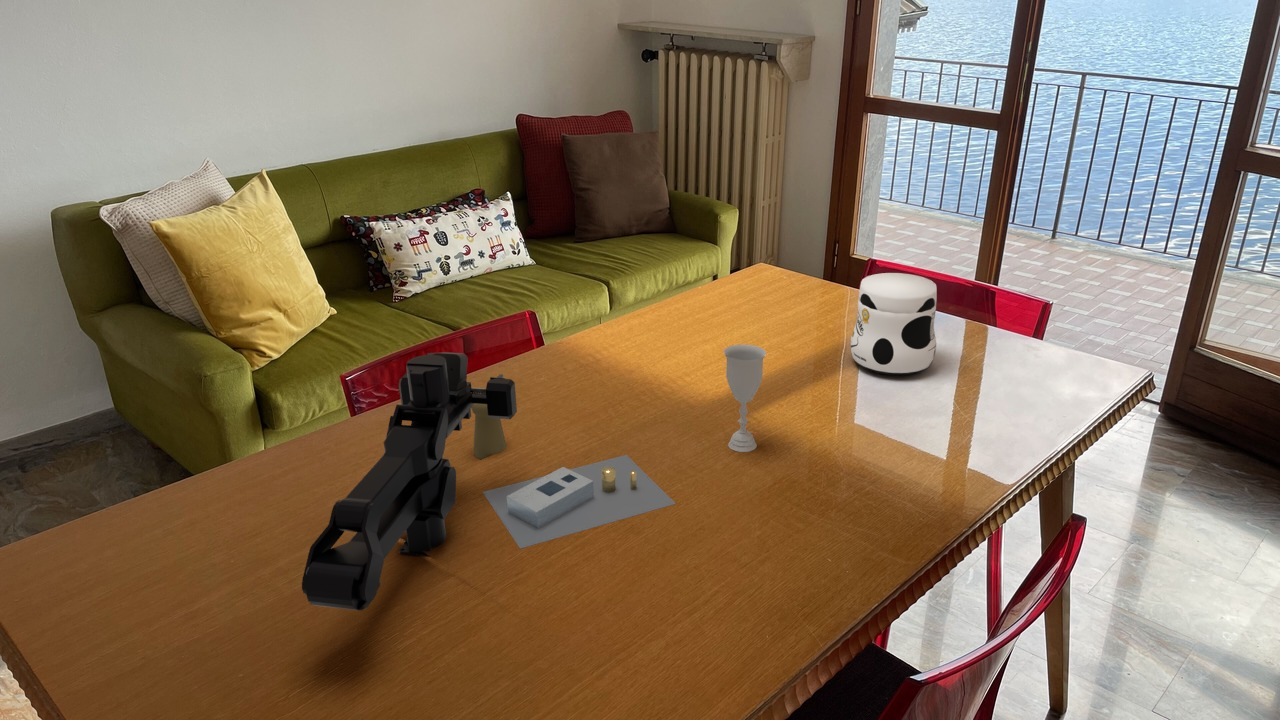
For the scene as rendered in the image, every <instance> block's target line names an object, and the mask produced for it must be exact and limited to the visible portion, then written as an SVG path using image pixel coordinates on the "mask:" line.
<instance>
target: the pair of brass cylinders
mask: <svg viewBox="0 0 1280 720" xmlns="http://www.w3.org/2000/svg"><path fill="white" fill-rule="evenodd" d="M601 472H602V490H603V492H606V493H611V492H614V491H615V490H616V482H615V468H613V467H604V468H602V470H601ZM630 488H631V490H635V489H637V483H636V471H630Z"/></svg>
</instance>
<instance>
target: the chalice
mask: <svg viewBox="0 0 1280 720" xmlns="http://www.w3.org/2000/svg"><path fill="white" fill-rule="evenodd" d="M723 352H724V353H723V354H724V356H725V358H726V366H725V367H726V370H725V371H726V372H725V373H726V374H725V375H726V380H727V383H728V386H729V389H730V391H731V393H732V395H733V397H734V398H735V400H736V401H737V402H739V403H740V408H739V410H738V412H739V414H740V417H739V419H738V420H737V422H738V423H739V429H738V430H737V431H735V432H734V433H733V434H732V435H731V438H730V441H729V442H728V443H727V445H728V448H729V449H730V450H733V451H736V452H740V453H747V452H748V453H749V452H753V451H755V449H756V448H757V446H758V444H757V443H756V441H755V438H754V435H753V434H752V433H751V431H749V430H747V429H746V428H747V424H748V422H749V420H748V419H747V414H748V413H749V411H748V409H747V403H750V402H751V401H753V399H754V397H755V396H756V394H757V391H758V390H759V388H760V386H761V384H762V380H763V372H764V371H763V369H764V365H763V364H764V358H765V356H766V355H767V352H766V349H764V348H761V347H760V346H756V345H752V344H733V345H730V346H727V347H726V348H724V350H723Z"/></svg>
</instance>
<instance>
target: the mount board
mask: <svg viewBox="0 0 1280 720" xmlns="http://www.w3.org/2000/svg"><path fill="white" fill-rule="evenodd" d="M604 467H613V468H615V482H616V490H615V491H614V492H611V493H606V492H603V490H602V472H601V470H602V468H604ZM568 469H569V468H568ZM569 470H571V471H573V472H575V473H577V474H580V475H582V476H584V477H586V478H588V479H590V480H592V481H593V486H594V498H592V499H590V500H588V501H587V502H585V503H583V504H581V505H579V506H578V507H576V508H574V509H572V510H571V511H569V512H567V513H565V514H564V515H562V516H560V517H558V518H557V519H555V520H553V521H551V522H549V523H548V524H546V525H544V526H542V527H541V528H539V529H537V528H535V527H533V526H532V525H530V524H528V523H526V522H524V521H522V520H521V519H519V518H517V517H515V516H513V515H512V514H510V513H508V506H507V496H508V495H510V494H512V493H514V492H515V491H517V490H519V489H521V488H523V487H525V486H527V485H529V484H531V483H533V482H535V481H537V480H539V479H540V478H542V477H544V476H545V475H543V476H540V477H535V478H531V479H528V480H524V481H520V482H516V483H512V484H509V485H504V486H501V487H498V488H497V487H496V488H493V489H489V490H486V491H482V494H483V495H484V497H485V498H486V500H487V501H488V503H489V504H490V506H491V507H492V509H493V511H494V512H495V513H496V514H497V516H498V518H499V519H500V521H501V522H502V524H503V526H504V527H505V528H506V530H507V531H508V533H509V535H511V538H512V539H513V540H514V542H515V543H516V545H517V546H518V547H519V550H521V549H525V548H529V547H531V546H535V545H539V544H542V543H546V542H549V541H552V540H555V539H560V538H562V537H566V536H570V535H574V534H576V533H580V532H583V531H586V530H590V529H594V528H596V527H597V528H598V527H600V526H604V525H607V524H610V523H614V522H618V521H622V520H625V519H628V518H631V517H635V516H639V515H643V514H646V513H649V512H652V511H656V510H660V509H663V508H666V507H667V508H668V507H670V506H673V505H676V504H677V503H676V501H674V500H673V499H672V498H671V497H670V496H669V495H668V494H667V493H666V492H665V491H664V490H663V489H661V487H660V486H659V485H658V484H657V483H656V482H655V481H654V480H653V479H651V477H649V475H647V473H645V472H644V470H643V469H641V468H640V466H638V465H637V464H636V463H635V461H634V460H632V458H631V457H629V455H628V454H624V455H621V456H616V457H612V458H609V459H604V460H601V461H597V462H593V463H588V464H585V465H582V466H579V467H574V468H571V469H569ZM630 471H636V483H637V489H635V490H631V488H630Z"/></svg>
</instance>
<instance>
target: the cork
mask: <svg viewBox="0 0 1280 720" xmlns="http://www.w3.org/2000/svg"><path fill="white" fill-rule="evenodd" d="M485 394H486V393H485ZM471 412H472V413H473V414H474V434H473V436H474V438H473V440H474V441H473V456H474V457H475V458H477V459H478V458H479V460H482V459H483V460H485V459H487V458H489V457H491V456H493V455H497V454H500V453H502V452H504V451H505V449H506V448H507V446H508V445H507V442H506V439H505V438H506V437H505V433H504V429H503V425H502V421H501V420H502V419H498V418H490V417H489V416H488V410H487V404H477V403H473V405H472V408H471Z"/></svg>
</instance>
